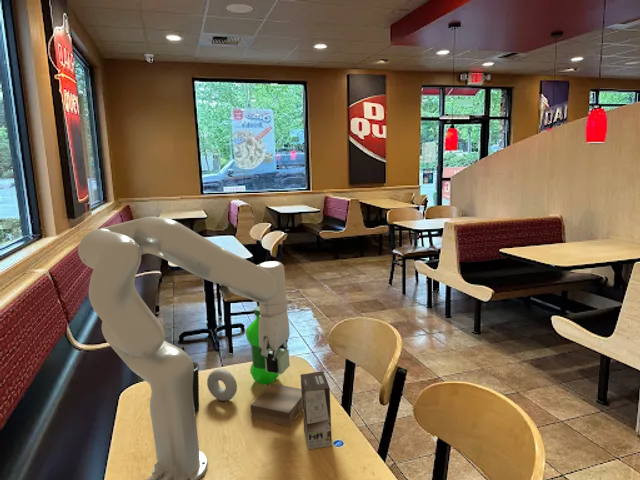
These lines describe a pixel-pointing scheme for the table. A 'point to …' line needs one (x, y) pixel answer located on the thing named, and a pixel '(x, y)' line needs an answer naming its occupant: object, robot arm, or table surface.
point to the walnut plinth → (278, 404)
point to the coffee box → (316, 409)
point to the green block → (281, 360)
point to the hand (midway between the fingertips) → (277, 366)
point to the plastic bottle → (258, 354)
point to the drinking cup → (195, 385)
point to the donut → (215, 387)
